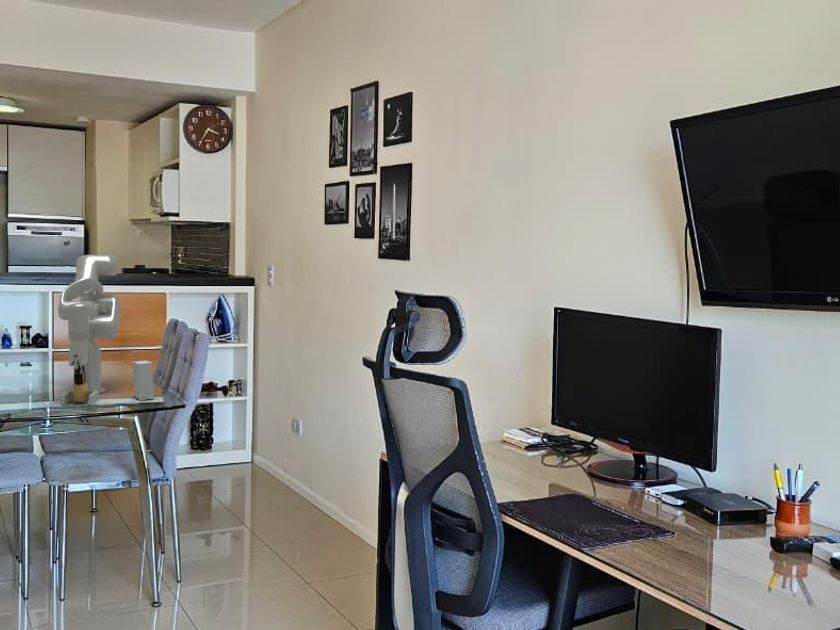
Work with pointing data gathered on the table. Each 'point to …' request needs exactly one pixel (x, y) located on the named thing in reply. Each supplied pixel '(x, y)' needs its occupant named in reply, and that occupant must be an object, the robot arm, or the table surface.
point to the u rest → (67, 397)
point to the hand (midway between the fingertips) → (79, 382)
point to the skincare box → (143, 380)
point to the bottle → (80, 391)
